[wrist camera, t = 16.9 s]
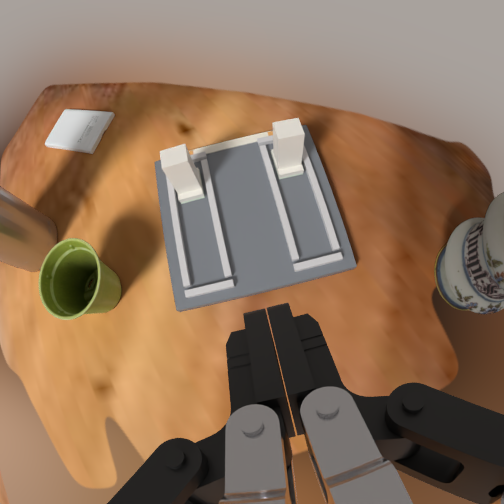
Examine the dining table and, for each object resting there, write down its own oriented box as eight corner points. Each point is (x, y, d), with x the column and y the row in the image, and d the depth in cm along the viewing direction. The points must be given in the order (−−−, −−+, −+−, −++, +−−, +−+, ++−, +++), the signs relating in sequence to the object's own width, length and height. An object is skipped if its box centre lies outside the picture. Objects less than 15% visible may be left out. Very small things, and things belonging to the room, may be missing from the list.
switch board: (180, 311, 39) (174, 310, 37) (158, 167, 45) (152, 159, 43) (354, 268, 39) (358, 264, 37) (305, 130, 45) (306, 121, 42)
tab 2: (279, 178, 41) (279, 145, 34) (271, 152, 42) (269, 117, 35) (303, 172, 41) (307, 139, 33) (294, 147, 42) (296, 112, 35)
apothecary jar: (491, 237, 38) (568, 188, 21) (494, 319, 35) (584, 299, 18) (425, 227, 40) (496, 163, 22) (425, 317, 37) (513, 296, 19)
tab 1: (180, 202, 41) (161, 174, 34) (176, 176, 42) (158, 146, 35) (204, 196, 41) (189, 166, 34) (199, 170, 42) (185, 138, 35)
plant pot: (66, 307, 40) (28, 298, 32) (92, 247, 42) (57, 227, 34) (116, 337, 39) (80, 334, 30) (143, 271, 41) (113, 255, 33)
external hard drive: (69, 113, 51) (116, 116, 49) (48, 148, 49) (94, 155, 47) (65, 108, 50) (112, 111, 48) (43, 144, 48) (90, 150, 46)
